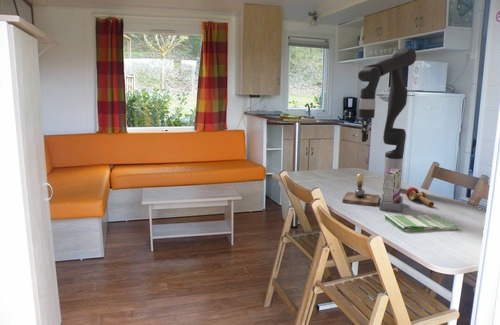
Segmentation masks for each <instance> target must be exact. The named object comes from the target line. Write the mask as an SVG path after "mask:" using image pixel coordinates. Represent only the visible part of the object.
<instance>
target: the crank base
mask: <svg viewBox="0 0 500 325" xmlns="http://www.w3.org/2000/svg"><path fill="white" fill-rule="evenodd" d="M380 198H381V195H380V194H373V193H372V194H371V193H364V197H362V198H360V197H355V192H352V191H347V192H346V193H345V195H344V196H343V197H342V203H345V204H353V205H354V204H355V205H361V206H362V205H363V206H370V207H372V206H373V207H378V205H379V203H380V201H379V200H380Z"/></svg>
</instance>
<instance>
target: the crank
mask: <svg viewBox="0 0 500 325" xmlns="http://www.w3.org/2000/svg"><path fill="white" fill-rule="evenodd" d="M356 177H357V178H356V187H357V189H355V192H354V193H355V197H360V198H362V197H364V194H365V190H364V189H363V186H364V174H362V173H357V175H356Z"/></svg>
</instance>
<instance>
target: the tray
mask: <svg viewBox="0 0 500 325" xmlns="http://www.w3.org/2000/svg"><path fill="white" fill-rule="evenodd" d="M383 196H384V193H383V194H381V195H380V199H379V200H380V201H379V211H384V212H385V211H386V212H388V211H389V212H395V213H403V207H404V196H403V195H402V196H401V195H400V200H399V204H395V203H386V202H383Z"/></svg>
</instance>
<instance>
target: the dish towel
mask: <svg viewBox="0 0 500 325" xmlns="http://www.w3.org/2000/svg"><path fill="white" fill-rule="evenodd" d="M384 219H385V220H386V221H387V222H389V223H390V224H392V225H393V226H395V227H396V228H397V229H398V230H400V231H401V232H402V233H406V232H408V233H410V232H413V233H414V232H437V231H441V232H443V231H457V230H459V228H460V227H461V226H460V225H458V224H456V223H455V224H454V223H453V222H451V221H449V220H448V219H445V218H444V217H442V216H440V215H438V214H433V213H432V214H423V215H421V214H419V215H404V214H403V215H400V214H399V215H398V214H387V213H385V214H384Z"/></svg>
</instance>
